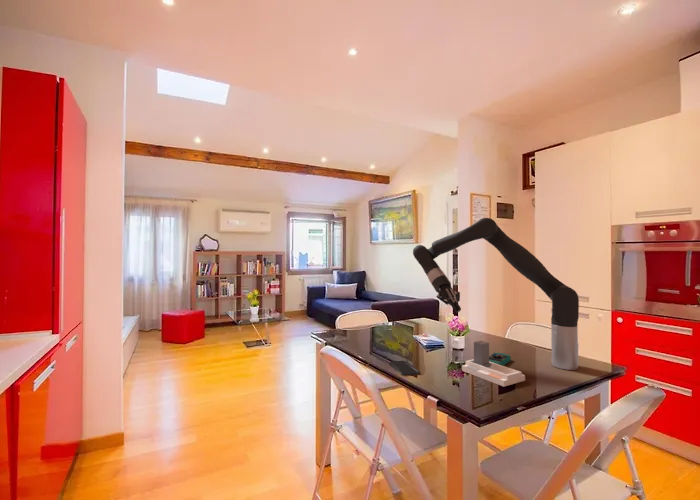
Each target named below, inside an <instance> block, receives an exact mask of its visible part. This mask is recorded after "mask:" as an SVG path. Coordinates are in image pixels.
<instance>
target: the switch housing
mask: <svg viewBox="0 0 700 500" xmlns="http://www.w3.org/2000/svg"><path fill="white" fill-rule="evenodd" d="M473 361H474V358H472V359H468V360H465V364H463V365H461V370H462V372H465V373H468V374H469V375H473V376H475V377H478V378H479V379H482V380H485V381H488V382H491V383H494V384H496V385H499V386H501V387H507V386H510V385H514V384H518V383H521V382H525V381H526V375H525V374H523V372H522V371H520V370H517V369H514V368H511V367H508V366H505V365H504V366H502V365H499V364H496V363H493V362H490V361H489V363H491V367H484V366H481V365H478V364H476V363H473Z"/></svg>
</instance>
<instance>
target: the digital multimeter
mask: <svg viewBox="0 0 700 500" xmlns="http://www.w3.org/2000/svg"><path fill="white" fill-rule="evenodd" d="M489 361H490V362H493V363H496V364H499V365H502V366H505V365H507V364H508V363H510V362H511V361H512V358H511V355H509V354H507V353H501V352H493V353H492V354H491V355H489Z"/></svg>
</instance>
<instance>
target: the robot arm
mask: <svg viewBox="0 0 700 500" xmlns="http://www.w3.org/2000/svg"><path fill="white" fill-rule="evenodd" d="M480 239H481V240H482V239H483V240H485V241H487V242H488V243H489V244H490V245H491V246H493V247H494V248H496V250H497V251H498V252H499V253H500V255H502V257H503V258H504V259H505V261H506V262H508V263H509V264H510V266H512V267H513V268H514V269H515V270H516V271H517V272H518V273H520V274H521V275H522V276H524V278H526V279H528V280H529V281H530V282H532V283H533V284H535V285H536V286H537V287H538V288H540V289H541V291H542V292H543V293H544V294H545V295H546V296H547V297H548V298H549V300H550V301H551V303H552V304H551V306H552V307H551V317H550V319H551V325H550V326H551V329H550V331H551V333H550V335H551V337H550V338H551V365H552V366H553V367H555V368H557V369H561V370H568V371H569V370H571V371H572V370H573V371H574V370H578V368H579V342H578V341H579V340H578V338H579V337H578V334H579V332H578V325H579V324H578V321H579V319H580V318H579V310H580V302H579V301H580V300H579V294H578V293H577V291H576V290H575V289H573V288H572V287H570V286H567V285H566V284H565V283H563V282H562V281H560V280H559V279H558V278H556V277H555V276H554V275H553V274H551V273H550V272H549V270H548V269H547V267H545V265H544V264H543V263H542V262H541V261H540V260H539V259H538V258H537V257H536V255H534V254H532V253H531V251H529V250H528V249H527V248H525V247H524V246H523V245H521V244H520V243H518V242H517V241H515V240H514V239H513V238H511V237H509V236H508V235H507V234H506V232H504V231H503V230H502V229H501V227H500V226H498V224H497V222H496V221H495V220H494V219H492V218H491V217H483V218H480V219H479V220H477V221H476V222H474V223H473V224H471V225H470V226H467V227H466V228H464V229H461V230H460V231H457V232H455V233H451V234H449V235H447V236H444V237H441V238H438V239H436V240H434V241H433V242H431V247H428V248H427V247H426V246H424V245H422V244H419V245H416V246H415V247H413V249H412V255H413V257H414V259H415V260H416V262H417V263H418V264H419V265H420V267H421V268H422V269H423V271H424V273H425V275H426V276H427V279H428V281H429V282H430V284H431V286H432V287H433V289H434V290H435V292H436V293H437V295H436V296H435V297H436V298H437V299H438V300H440V301H441V302H442V303H444V304H445V305H449V306H451V308H452V309H453V311H454V312H455V313H459V312H461V310H462V307H461V306H460V304H459V302H460V300H461V292H460V291H455V289H454V288H453V287H452V283H451V281H450V280H449V278H448V277H447V275H446V273H445V272H444V271H443V269H441V267H440V265H439V263H437V261H436V260H435V259H437V257H439V256H441V255H443V254H446V253H448V252H451V251H453V250H456V249H457V248H460V247H461V246H463V245H465V244H467V243H470V242H472V241H477V240H480Z"/></svg>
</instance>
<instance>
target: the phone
mask: <svg viewBox="0 0 700 500" xmlns="http://www.w3.org/2000/svg"><path fill="white" fill-rule="evenodd" d="M388 365H389V366H390V367H391V368H393V369H394V370H395V371H396V372H397V373H398V372H399V373H400V374H399V373H398V374H399V375H401V376H403V377H406V376H405V375H408V376H418V375H420V374H421V371H420V370H419V369H417V368H416V367H415V366H413V365H412V364H411V363H409V362H408V361H406V360H397V361H390V362H388Z"/></svg>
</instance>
